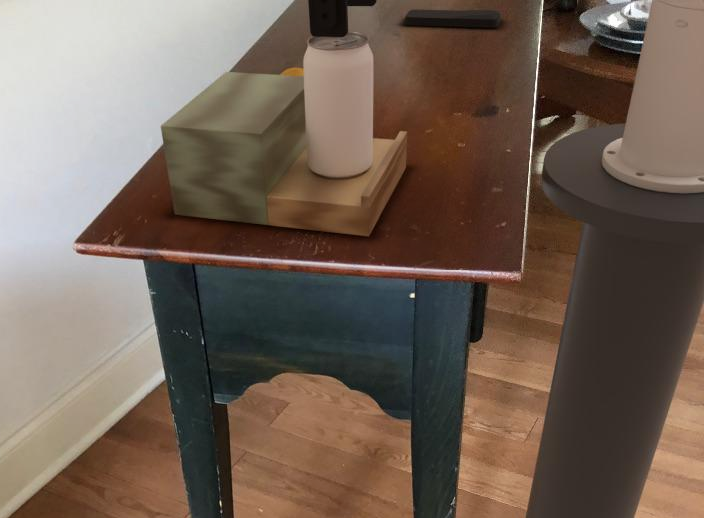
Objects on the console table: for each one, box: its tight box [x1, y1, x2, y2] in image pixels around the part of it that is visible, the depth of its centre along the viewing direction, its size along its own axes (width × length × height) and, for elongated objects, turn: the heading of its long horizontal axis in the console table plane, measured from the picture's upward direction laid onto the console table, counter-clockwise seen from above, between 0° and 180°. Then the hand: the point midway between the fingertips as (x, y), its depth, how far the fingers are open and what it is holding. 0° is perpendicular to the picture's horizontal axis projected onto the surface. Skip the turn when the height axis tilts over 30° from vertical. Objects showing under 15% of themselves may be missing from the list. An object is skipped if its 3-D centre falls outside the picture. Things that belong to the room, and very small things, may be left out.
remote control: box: [403, 9, 501, 29], centre depth 128 cm, size 5×2×15 cm
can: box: [302, 30, 374, 179], centre depth 76 cm, size 6×6×12 cm
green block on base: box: [160, 71, 408, 237], centre depth 80 cm, size 20×16×9 cm
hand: (345, 19), depth 71 cm, fingers open, 9 cm apart
